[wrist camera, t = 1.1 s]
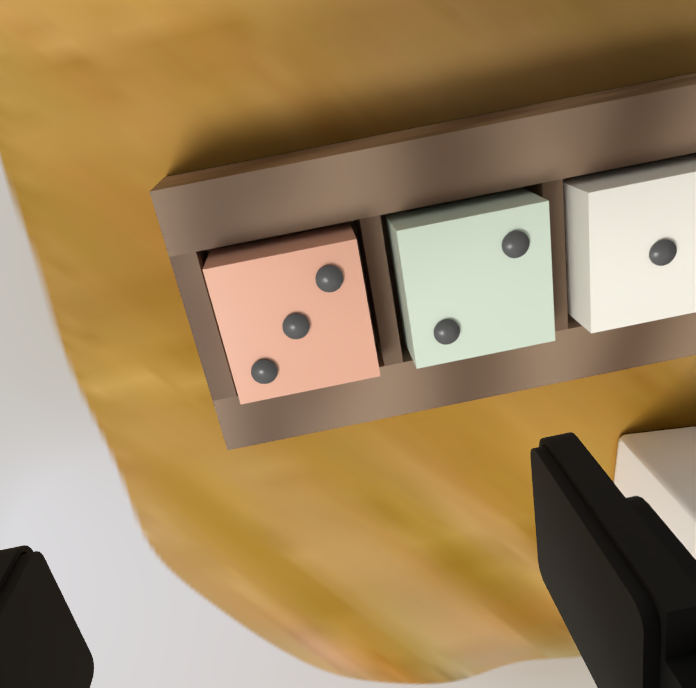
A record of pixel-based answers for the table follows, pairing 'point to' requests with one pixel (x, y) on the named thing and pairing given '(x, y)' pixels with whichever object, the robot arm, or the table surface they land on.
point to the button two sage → (473, 276)
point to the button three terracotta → (293, 312)
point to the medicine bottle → (662, 477)
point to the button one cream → (631, 244)
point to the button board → (375, 254)
